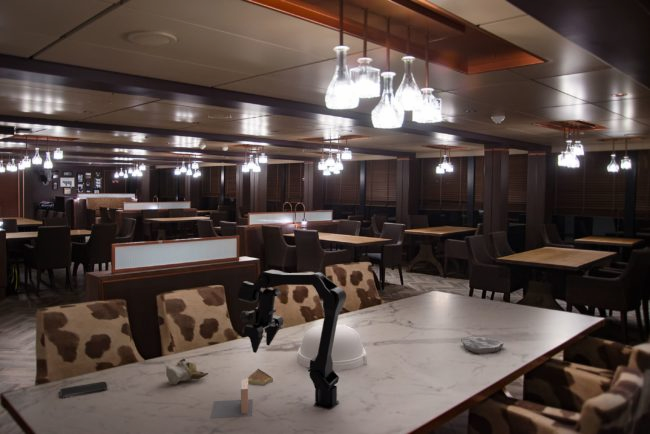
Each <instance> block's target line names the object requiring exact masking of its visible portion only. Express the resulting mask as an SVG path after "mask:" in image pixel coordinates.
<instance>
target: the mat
mask: <svg viewBox="0 0 650 434" xmlns="http://www.w3.org/2000/svg"><path fill="white" fill-rule="evenodd" d="M253 402H254V400H253V399H252V398H251V399H250V398H248V413H245V414H242V413H241V399H231V400H230V399H229V400H214V401H213V404H212V409H211V413H210V414H211V415H210V419H223V418H241V417H242V418H243V417H244V418H245V417H253V407H254V406H253Z"/></svg>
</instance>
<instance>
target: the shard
mask: <svg viewBox="0 0 650 434" xmlns="http://www.w3.org/2000/svg"><path fill="white" fill-rule="evenodd" d="M247 379H248V385H262V386H264V385H266V384H270V383H272V382H273V380H274V378H273V377H272V376H270V375H269V374H268V373H266V372H264V371H263V370H261V369H260V368H257V369H256V370H255V371H254V372H253V373H252V374H250V375H249V376H247Z"/></svg>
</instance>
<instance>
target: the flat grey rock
mask: <svg viewBox="0 0 650 434" xmlns="http://www.w3.org/2000/svg"><path fill="white" fill-rule="evenodd" d="M460 342H461V343H462V345H463V346H464V348H465V350H467V351H469V352H471V353H474V354H479V355H481V354H490V353H495V352H497V351H499V350H501V349H502V348H503V346H504V341H502V340H498V339H495V338H492V337H491V338H489V337H482V336H468V337H467V338H466V337H464V338H461V339H460Z"/></svg>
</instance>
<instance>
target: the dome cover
mask: <svg viewBox="0 0 650 434" xmlns="http://www.w3.org/2000/svg"><path fill="white" fill-rule="evenodd" d="M322 327H323V324H319V325H315V326H312V327H311V328H309V329H307V330H306V332H305V333H304V335H303V337H302V340H301V344H300V345H299V346H298V350H297V353H296V354H297V355H296V361H297V363H298V364H300V365H301V366H303V367H306V368H308V369H309V368H310V360H311V359H313V358H314V357H315V356H317V355H318V349H319V344H320V338H321V333H322ZM367 357H368V356H367V351H366V349H365V348H364V346H363V340H362V337H361V336H360V334H359V333H358V331H357V330H356V329H354V328H352V327H350V326H348V325H344V324H339V323H337V325H336V331H335V336H334V342H333V347H332V353H331V358H332V362H333V371H334V372H336V371H337V372H338V371H339V372H340V371H347V370H353V369H356V368H359V367H361V366H363V365H367V364H368V363H367V362H368V361H367Z"/></svg>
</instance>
